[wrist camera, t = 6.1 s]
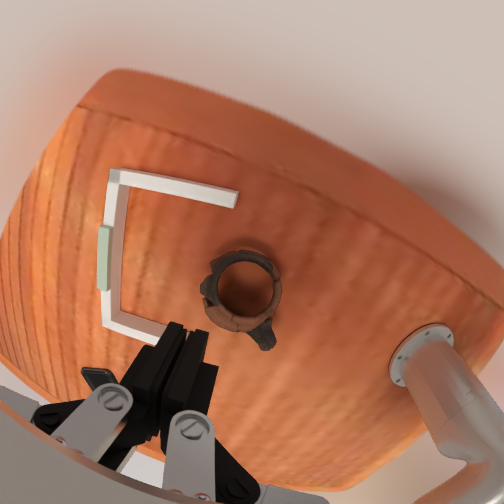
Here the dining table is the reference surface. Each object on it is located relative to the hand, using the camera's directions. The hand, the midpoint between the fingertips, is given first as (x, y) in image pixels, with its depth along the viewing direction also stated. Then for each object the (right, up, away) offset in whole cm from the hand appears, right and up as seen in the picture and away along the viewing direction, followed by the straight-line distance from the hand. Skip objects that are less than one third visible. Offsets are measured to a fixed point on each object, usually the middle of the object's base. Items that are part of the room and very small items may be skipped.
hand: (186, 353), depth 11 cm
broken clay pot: (+2, -1, +22) cm, 23 cm away
